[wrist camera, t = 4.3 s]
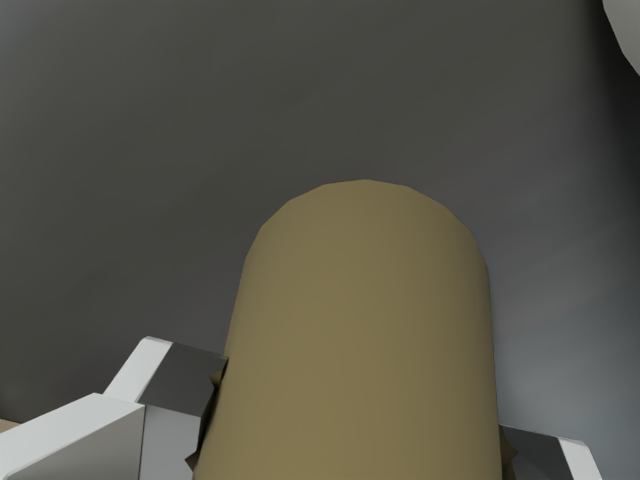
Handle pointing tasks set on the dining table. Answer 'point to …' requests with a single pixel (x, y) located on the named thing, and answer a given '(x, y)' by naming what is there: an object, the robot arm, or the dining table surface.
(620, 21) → the alcohol
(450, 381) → the cork
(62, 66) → the dining table surface
